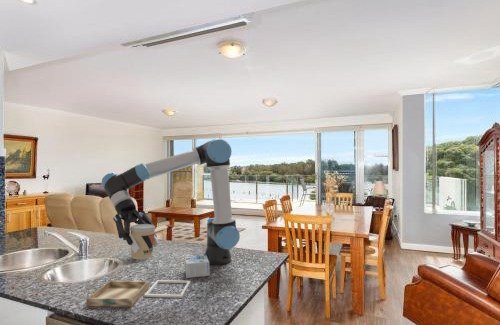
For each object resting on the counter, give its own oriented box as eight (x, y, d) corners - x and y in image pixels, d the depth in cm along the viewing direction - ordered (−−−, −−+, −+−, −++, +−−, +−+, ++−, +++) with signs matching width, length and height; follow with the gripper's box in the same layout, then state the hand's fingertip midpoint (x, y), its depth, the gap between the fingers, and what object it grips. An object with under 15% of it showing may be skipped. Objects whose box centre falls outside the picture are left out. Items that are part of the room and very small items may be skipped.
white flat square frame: (190, 282, 124) (190, 280, 124) (181, 297, 109) (181, 295, 109) (157, 281, 124) (157, 280, 124) (144, 296, 110) (144, 294, 110)
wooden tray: (148, 287, 118) (148, 281, 118) (131, 307, 101) (131, 299, 102) (109, 286, 119) (109, 280, 119) (85, 306, 102) (85, 299, 102)
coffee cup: (144, 261, 108) (146, 229, 108) (123, 258, 110) (125, 227, 110) (158, 254, 117) (160, 224, 117) (139, 251, 119) (140, 223, 119)
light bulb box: (184, 256, 139) (206, 254, 142) (184, 270, 139) (206, 268, 142) (185, 263, 129) (209, 261, 131) (185, 278, 128) (209, 276, 131)
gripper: (140, 207, 131) (163, 247, 122) (94, 212, 113) (117, 260, 104) (148, 196, 128) (172, 237, 120) (103, 200, 110) (127, 248, 101)
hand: (147, 247), depth 112 cm, fingers closed on coffee cup, 9 cm apart
